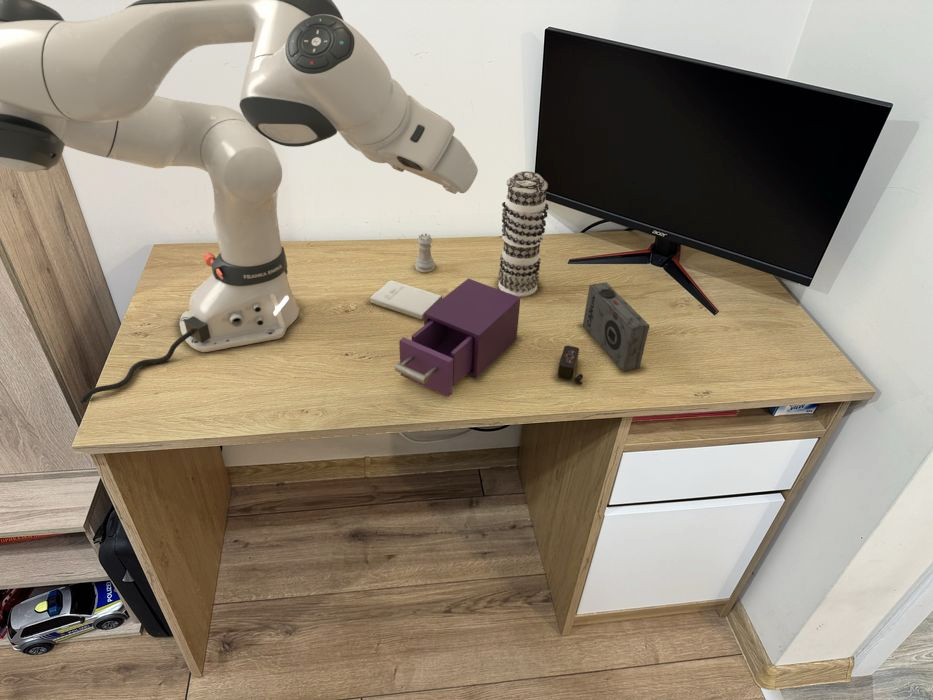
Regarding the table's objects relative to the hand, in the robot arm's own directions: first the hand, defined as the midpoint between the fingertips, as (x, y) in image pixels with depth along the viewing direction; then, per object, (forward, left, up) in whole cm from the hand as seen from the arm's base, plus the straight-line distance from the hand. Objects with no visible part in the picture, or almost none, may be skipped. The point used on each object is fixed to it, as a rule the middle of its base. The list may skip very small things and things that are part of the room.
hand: (427, 176), depth 98 cm
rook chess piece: (+20, +36, -40) cm, 58 cm away
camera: (+37, -6, -40) cm, 55 cm away
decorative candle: (+34, +20, -40) cm, 56 cm away
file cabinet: (+13, +7, -40) cm, 43 cm away
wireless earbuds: (+25, -9, -40) cm, 48 cm away
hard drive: (+10, +26, -40) cm, 49 cm away
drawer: (+4, +2, -39) cm, 39 cm away
